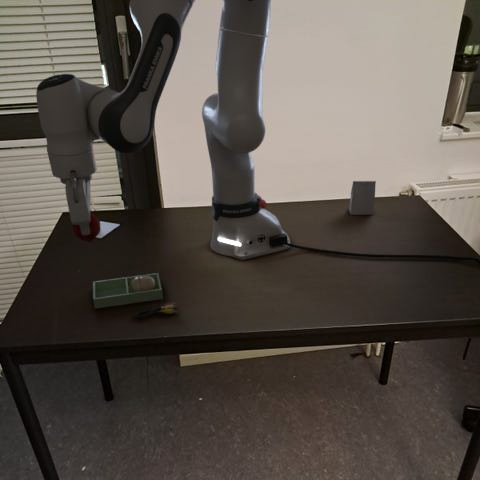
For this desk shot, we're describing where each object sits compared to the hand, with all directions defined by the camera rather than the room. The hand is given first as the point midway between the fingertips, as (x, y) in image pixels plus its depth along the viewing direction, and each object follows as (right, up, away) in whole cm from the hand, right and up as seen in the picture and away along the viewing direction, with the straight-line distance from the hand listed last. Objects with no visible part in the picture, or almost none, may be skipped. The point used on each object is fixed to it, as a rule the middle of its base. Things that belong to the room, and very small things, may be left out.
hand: (86, 226), depth 112 cm
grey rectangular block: (+71, +13, +50) cm, 88 cm away
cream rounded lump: (+10, -14, +13) cm, 21 cm away
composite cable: (+15, -19, +6) cm, 25 cm away
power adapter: (-9, +7, +43) cm, 45 cm away
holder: (+6, -14, +13) cm, 20 cm away
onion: (0, -3, +2) cm, 4 cm away
